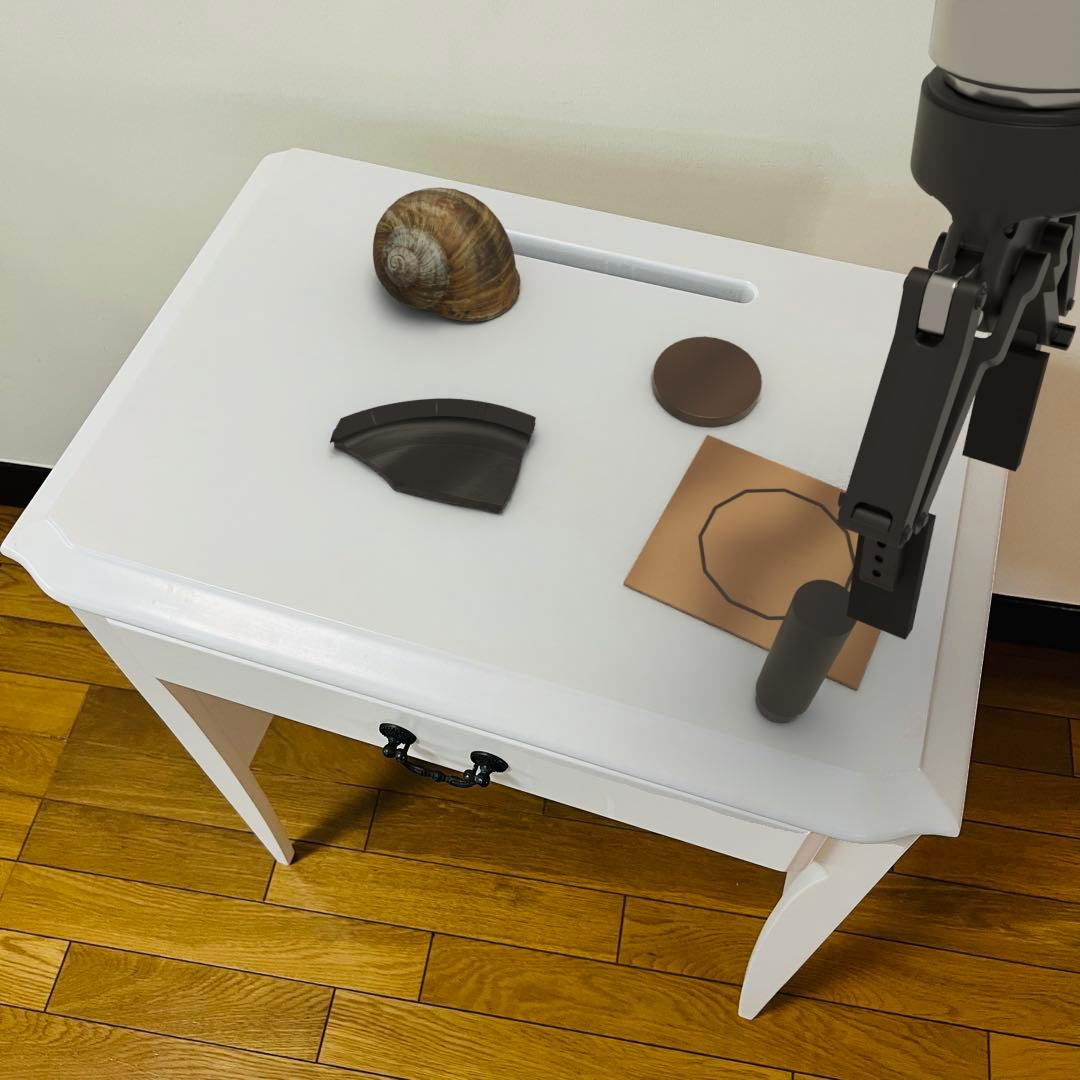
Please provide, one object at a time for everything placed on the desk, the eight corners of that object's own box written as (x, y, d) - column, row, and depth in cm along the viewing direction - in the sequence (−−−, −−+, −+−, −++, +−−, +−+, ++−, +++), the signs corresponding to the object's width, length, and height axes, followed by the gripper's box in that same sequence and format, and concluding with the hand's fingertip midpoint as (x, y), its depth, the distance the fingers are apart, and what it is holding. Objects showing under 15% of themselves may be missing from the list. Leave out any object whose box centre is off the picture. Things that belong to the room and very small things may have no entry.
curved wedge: (364, 385, 78) (361, 371, 76) (539, 428, 76) (539, 413, 74) (319, 472, 73) (315, 457, 72) (504, 519, 71) (503, 505, 70)
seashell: (358, 311, 82) (343, 230, 75) (406, 234, 86) (396, 152, 80) (493, 347, 80) (490, 268, 73) (534, 267, 84) (535, 185, 78)
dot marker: (814, 691, 65) (867, 595, 54) (794, 737, 63) (846, 647, 53) (762, 668, 65) (805, 569, 55) (742, 712, 64) (782, 619, 54)
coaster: (775, 368, 79) (777, 359, 78) (735, 442, 75) (737, 433, 74) (678, 331, 81) (679, 322, 80) (634, 401, 77) (635, 392, 76)
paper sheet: (922, 524, 71) (924, 521, 71) (856, 690, 65) (858, 688, 64) (706, 437, 75) (707, 433, 75) (623, 584, 69) (623, 582, 68)
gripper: (1046, -35, 44) (959, 385, 58) (764, 188, 30) (738, 670, 44) (1246, -22, 41) (1102, 424, 55) (1028, 240, 27) (909, 749, 41)
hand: (939, 535), depth 50 cm, fingers open, 13 cm apart
